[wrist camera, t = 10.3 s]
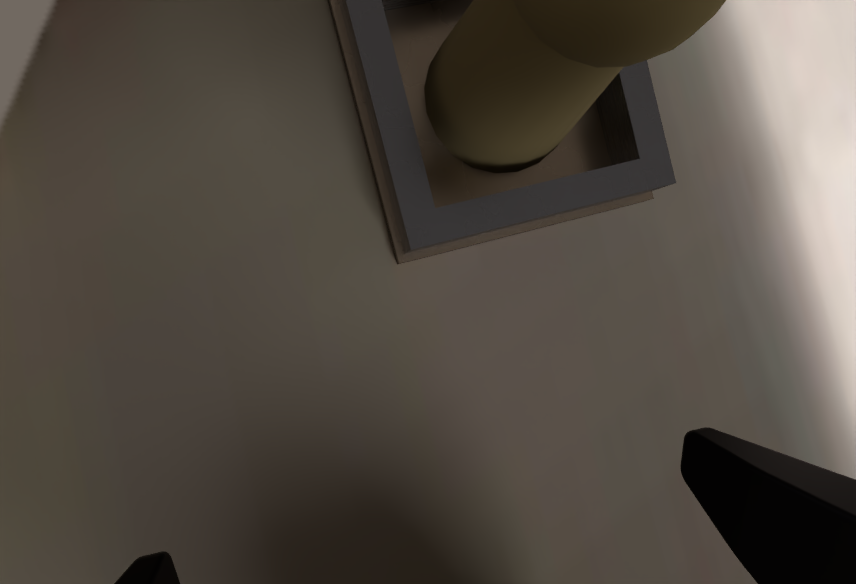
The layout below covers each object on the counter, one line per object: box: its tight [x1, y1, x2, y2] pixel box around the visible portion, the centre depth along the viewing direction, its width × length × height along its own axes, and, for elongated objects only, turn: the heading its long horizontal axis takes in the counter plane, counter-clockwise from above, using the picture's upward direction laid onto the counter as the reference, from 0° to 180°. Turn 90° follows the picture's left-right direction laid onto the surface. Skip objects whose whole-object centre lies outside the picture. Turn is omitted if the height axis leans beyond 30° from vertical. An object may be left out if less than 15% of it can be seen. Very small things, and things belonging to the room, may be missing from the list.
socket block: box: [328, 0, 676, 264], centre depth 20 cm, size 11×11×3 cm
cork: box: [424, 0, 726, 173], centre depth 15 cm, size 6×6×11 cm
